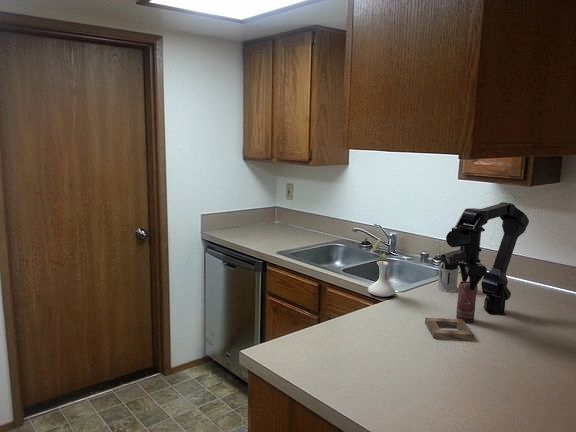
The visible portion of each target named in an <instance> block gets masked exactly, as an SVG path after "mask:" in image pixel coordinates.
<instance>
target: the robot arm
mask: <svg viewBox="0 0 576 432" xmlns="http://www.w3.org/2000/svg"><path fill="white" fill-rule="evenodd" d="M496 218H500V220H502V223H501V227H502V231H503V236H502V238H501V241H500V245H499V247H498V250H497V253H496V256H495V260H494V263H493V265H492V268H491V269H490V270H488V268H487V267H486V266H485V265H484V264H483V263H481V259H480V252H482V248H481V238H482V232H485V231H486V228H484V227H483V226H484V225H486V224H488V223H489V220H493V219H496ZM529 221H530V220H529V217H528V215H526V214H525V212H523V211H522V210H520V209H519V208H517V207H516V205H515V204H513V203H511V202H504V201H502V202H499V203H498V204H493V205H489V206H487V207H483V208H473V207H471V208H469V207H468V208H465V209H464V210H463V212H462V213H461V215H460V217H459V218H458V220H457V222H456V224H455V226H454V227H451V230H450V231H449V232H448V233H447V234H446V236H445V240H446V244H447V245H448V246H449V247H451V248H458V247H459V249H456V250H452V251H449V252H446V253H444V254H445V256H446V259H447V262H448V263H449V264H450V265H452V264H454V263H456V264H457V265H458V268H459V270H460V276H461V282H463V281H467V280H468V282H469V284H470V290H472V291H473V290H474V289H475V287H476V286H478V284H479V283H480V281H481V291H482V294H483V295H486V296H485V298H484V299H483V300H484V301H483V310H485V311H486V313H488V315H507V312H506V311H505V308H506V301H509V299H510V297H511V295H512V292H511V291H510V289H509V288H508V282H509V281H508V276H507V271H508V267H509V265H510V262H511V259H512V255H513V253H514V249H515V247H516V244H517V240H518V238H519V237H520V236H522V235H523V234H524V233H525V232H526V230H527V228H528V226H529V223H530V222H529Z"/></svg>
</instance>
